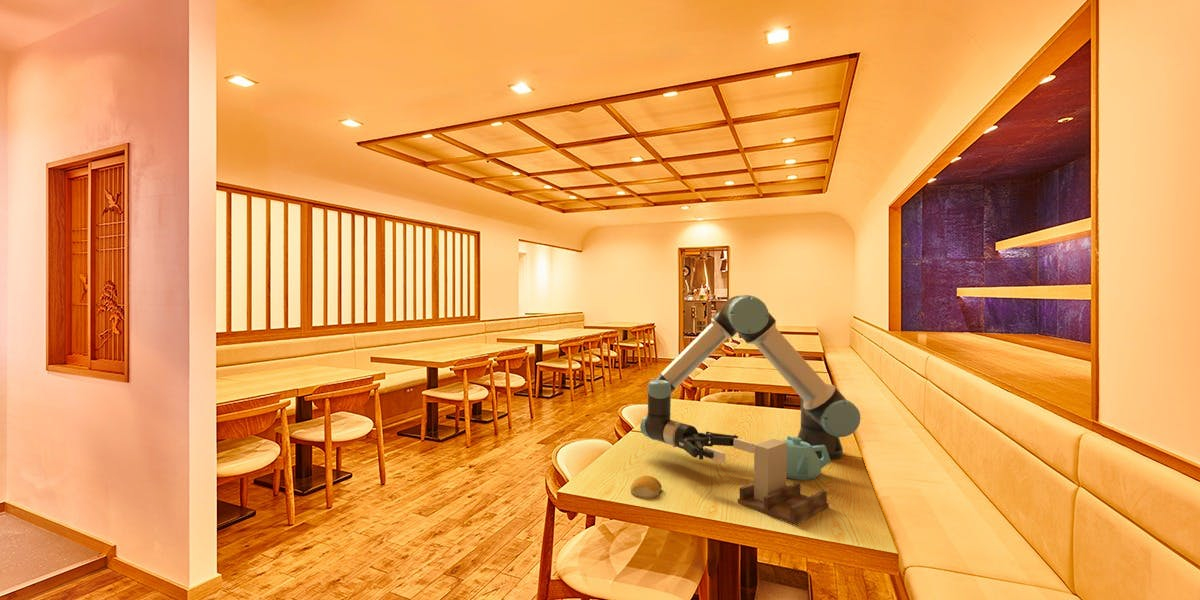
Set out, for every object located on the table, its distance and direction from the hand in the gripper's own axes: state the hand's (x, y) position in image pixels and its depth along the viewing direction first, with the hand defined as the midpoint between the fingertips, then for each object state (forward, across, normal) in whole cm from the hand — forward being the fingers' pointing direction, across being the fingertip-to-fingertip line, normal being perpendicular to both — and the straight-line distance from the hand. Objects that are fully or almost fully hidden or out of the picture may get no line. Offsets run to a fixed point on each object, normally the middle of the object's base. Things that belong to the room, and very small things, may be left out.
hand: (739, 453), depth 134 cm
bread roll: (-15, +22, -10) cm, 28 cm away
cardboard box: (+10, 0, -9) cm, 13 cm away
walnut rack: (+13, 0, -10) cm, 16 cm away
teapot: (+3, -24, -10) cm, 27 cm away
